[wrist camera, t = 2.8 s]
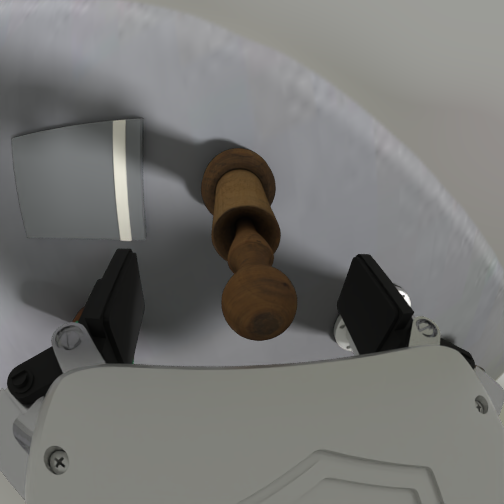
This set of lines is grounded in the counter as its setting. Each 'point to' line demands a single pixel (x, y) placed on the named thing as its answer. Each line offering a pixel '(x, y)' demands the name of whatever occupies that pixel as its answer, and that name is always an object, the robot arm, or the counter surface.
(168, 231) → the counter surface
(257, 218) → the brown wooden turned post
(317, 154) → the counter surface
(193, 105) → the counter surface
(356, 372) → the robot arm
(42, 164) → the mat
